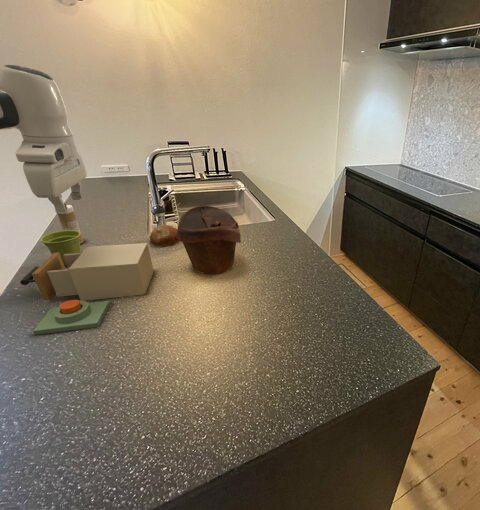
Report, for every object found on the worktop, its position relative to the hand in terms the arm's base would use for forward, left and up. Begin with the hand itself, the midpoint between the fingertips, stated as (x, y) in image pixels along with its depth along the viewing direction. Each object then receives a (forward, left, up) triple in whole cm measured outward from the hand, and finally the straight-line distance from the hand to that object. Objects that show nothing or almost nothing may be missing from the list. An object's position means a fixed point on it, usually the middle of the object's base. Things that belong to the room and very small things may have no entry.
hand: (70, 204), depth 77 cm
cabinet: (+7, -3, -23) cm, 24 cm away
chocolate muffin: (+32, +4, -23) cm, 40 cm away
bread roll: (+15, +26, -23) cm, 38 cm away
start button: (+1, -17, -21) cm, 27 cm away
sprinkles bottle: (-14, +29, -23) cm, 40 cm away
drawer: (-4, -3, -22) cm, 23 cm away
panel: (+1, -17, -23) cm, 29 cm away
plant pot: (-11, +15, -23) cm, 30 cm away
